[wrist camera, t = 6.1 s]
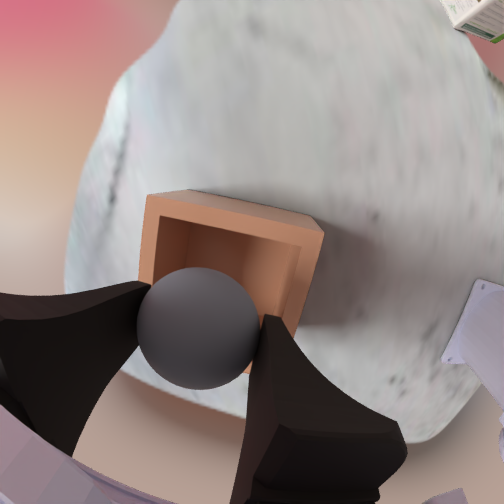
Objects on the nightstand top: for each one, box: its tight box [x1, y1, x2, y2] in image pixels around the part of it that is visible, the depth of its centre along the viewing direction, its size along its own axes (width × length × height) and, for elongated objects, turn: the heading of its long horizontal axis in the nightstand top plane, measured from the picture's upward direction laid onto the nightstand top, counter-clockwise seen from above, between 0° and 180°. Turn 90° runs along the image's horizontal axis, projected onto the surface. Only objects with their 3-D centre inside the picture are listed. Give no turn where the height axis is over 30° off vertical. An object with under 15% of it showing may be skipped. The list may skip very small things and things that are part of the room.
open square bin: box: [138, 190, 325, 374], centre depth 16 cm, size 8×8×6 cm
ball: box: [137, 267, 260, 390], centre depth 10 cm, size 4×4×4 cm
